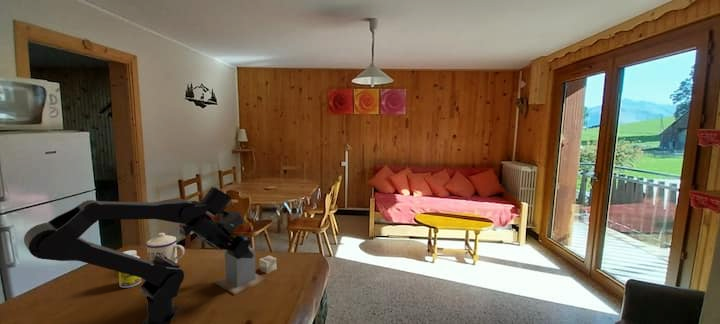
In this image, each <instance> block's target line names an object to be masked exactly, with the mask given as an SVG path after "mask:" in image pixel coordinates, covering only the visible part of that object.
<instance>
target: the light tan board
mask: <svg viewBox="0 0 720 324" xmlns="http://www.w3.org/2000/svg"><path fill="white" fill-rule="evenodd" d="M266 280H267V278H266V277H264V276H262V275H260V274H258V273H256V279H255V280H253V281H250V282H248V283H246V284H244V285H242V286H240V287H236V286H234V285H232V284H231V283H229V282H227V281H226V276H224V277H222V278H220V279H218V280H216V281H214V284H215V285H216V286H219V287H221V289H224V290H226V291H227V292H229V293H230V294H232V295H234V296H235V295H238V294H240V293H242V292H245V291H246V290H249V289H250V288H253V287H254V286H257V285H259V284H261V283H263V282H265V281H266Z"/></svg>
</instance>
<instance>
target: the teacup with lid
mask: <svg viewBox="0 0 720 324" xmlns="http://www.w3.org/2000/svg"><path fill="white" fill-rule="evenodd" d="M177 241H178V239H177V238H176V236H174V235H167V234H166V233H165V232H159V233H158V234H157V236H155V237H153V238H151V239H149V240H148V241H147V242H146V244H145V246H146V250H147V252H146V253H147V260H154V258H155V256H156V255H157V256H159V257H161V258H163V259H170V260H172V261H173V262H175V263H176V264H178V259H181V258H182V257H183V256H184V255H185V247H184V246H183V245H181V244H177ZM177 249H180V251H181V252H180V255H178V250H177Z"/></svg>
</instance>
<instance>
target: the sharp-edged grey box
mask: <svg viewBox="0 0 720 324" xmlns="http://www.w3.org/2000/svg"><path fill="white" fill-rule="evenodd" d="M248 247H249V249H250V250H251V252H252V254H253V257H252V258H240V259H236V258H234V257H232V256H231V255H229V254H227V250H226V249H224V261H225V262H224V264H225V277H226V281H227V282H229V283H231V284H232V285H234V286H236V287H240V286H242V285H244V284H246V283H248V282H250V281H253V280H255V279H256V274H257V272H256V249H254V248H252V247H250V246H248Z"/></svg>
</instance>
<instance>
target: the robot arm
mask: <svg viewBox="0 0 720 324" xmlns="http://www.w3.org/2000/svg"><path fill="white" fill-rule="evenodd" d="M232 201H233V198H232V197H231V195H229V194H228V193H225V192H224V191H222V190H221V189H218V188H217V187H214V186H211V187H210V189H209V190H208V192H207V194H206V195H204V197H203V199H202V200H201V201H197V200H189V201H188V200H185V199H182V198H179V197H178V198H171V199H170V198H169V199H163V200H160V201H155V202H154V201H153V202H152V201H151V202H146V201H144V202H143V201H142V202H141V201H106V200H105V201H104V200H103V201H102V200H94V199H89V200H85V201H82V202H81V203H80V204H78V205H76V206H75V207H73V208H72V209H69V210H67V211H65V212H64V213H61V214H59V215H57V216H55V217H54V218H52V219H50V220H49V221H48V222H43V223H39V224H37V225H35V226H33V227H31V228H29V229H28V230H27V231H26V233H25V234H24V236H23V243H24V246H26V249H27V250H28V251H29V253H30V254H31V255H32V256H33V257H34V258H36V259H40V260H49V261H58V262H59V261H60V262H71V261H72V262H73V261H75V262H76V261H77V262H82V263H85V264H90V265H92V266H95V267H96V266H97V267H100V268H104V269H106V270H111V271H114V272H121V273H125V274H129V275H132V276H136V277H140V278H141V279H143V280H144V281H143V282H142V284H140V286H139V288H140V289H141V292H142V293H143V294H145V295H146V309H147V312H146V313H147V316H146V318H145V319H144V320H143V322H142V323H141V324H171V322H173V319H174V318H175V317H176V315H177V313H178V311H179V310H180V306H175V305H174V304H175V303H174V301H175V300H174V298H175V297H177V296H178V293H179V290H180V287H181V284H182V283H183V281H184V279H185V273H184V270H183V269H181V265H180V264H178V263H175V262H173V261H172V260H170V259H163V258H161V257H159V256H157V255H156V256H155V258H154V260H148V259H143V258H141V257H140V258H138V257H135V256H131V255H128V254H125V253H123V252H122V251H119V250H115V249H112V248H109V247H107V246H103V245H100V244H98V243H93V242H90V241H87V240H85V239H84V238H82V237H81V236H82V235H84V234H85V232H87V230H88V229H90V228H91V227H93V225H94V224H96V223H97V222H99V221H114V220H116V221H117V220H121V221H122V220H126V221H127V220H128V221H129V220H158V221H159V220H161V221H165V222H170V223H177V224H179V234H180V235H183V236H184V237H188V236H189V235H190V233H191V232H192V233H194V234H195V235H197V236H198V237H199V238H200V239H201V242H202V243H204V245H208V246H209V247H211V248H213V249H214V248H215V249H218V250H227V254H229V255H231V256H232V257H234V258H236V259H240V258H252V257H253V254H252V252H251V250H250V249H249V247H250V245H251V243H252V239H250V237H248V236H246V235H243V234H241V233H240V234H238V235H236V236H233V235H234V234H235V231H234V230H235V229H237V228H238V227H239V226H240V225H242V224H244V222H245V219H244V217H243V216H242V214H241V213H240V212H239V211H235V210H230V211H229V212H228V211H227V210H226V209H227V207H228V206H229V204H230V203H231V202H232ZM209 215H210V216H209ZM211 216H212V217H216V216H218V217H219V220H218V221H217V220H215V219H214V218H212V217H211Z"/></svg>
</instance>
